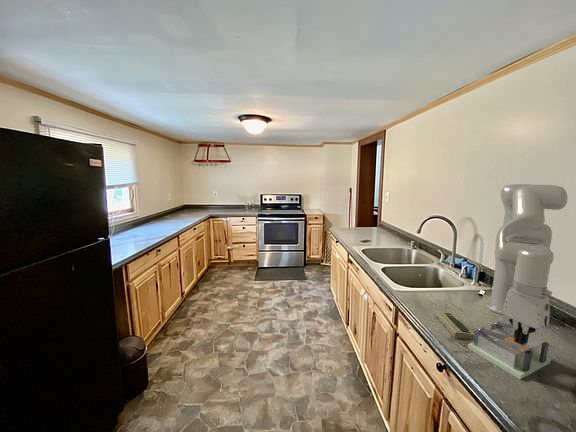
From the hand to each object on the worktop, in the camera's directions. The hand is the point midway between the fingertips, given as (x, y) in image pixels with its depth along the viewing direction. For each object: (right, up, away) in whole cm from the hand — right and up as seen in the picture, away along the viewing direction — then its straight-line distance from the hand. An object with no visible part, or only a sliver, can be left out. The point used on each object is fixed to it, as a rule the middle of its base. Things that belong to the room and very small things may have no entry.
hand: (520, 342), depth 83 cm
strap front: (-2, -1, +5) cm, 6 cm away
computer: (-5, -7, +25) cm, 27 cm away
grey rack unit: (+3, -7, +8) cm, 11 cm away
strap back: (+7, 0, +9) cm, 12 cm away
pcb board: (+3, -9, +8) cm, 12 cm away
